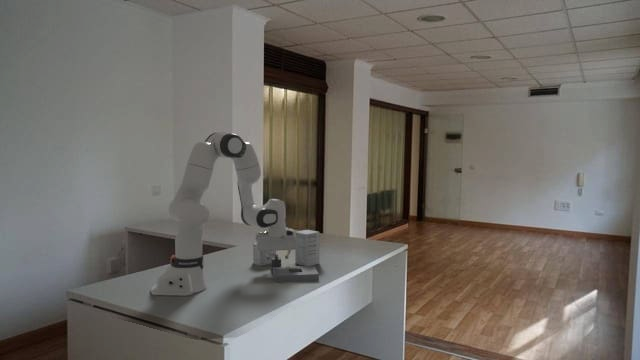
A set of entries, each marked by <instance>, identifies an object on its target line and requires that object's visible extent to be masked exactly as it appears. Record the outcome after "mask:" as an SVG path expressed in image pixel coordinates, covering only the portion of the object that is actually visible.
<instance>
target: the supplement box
mask: <svg viewBox="0 0 640 360" xmlns="http://www.w3.org/2000/svg"><path fill="white" fill-rule="evenodd" d="M295 236H296V238H297V243H298V248H297V249H296V250H295V251H294V252H295V253H294V255H295V259H294V260H295V261H294V263H295V264H297V265H299V266H315V265H318V264H320V260H321V259H320V231H316V230H311V229H303V230H298V231H295Z"/></svg>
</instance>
